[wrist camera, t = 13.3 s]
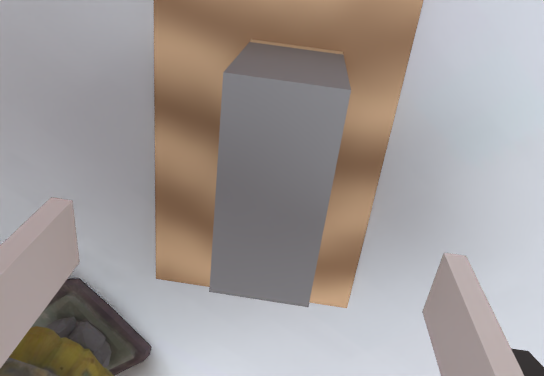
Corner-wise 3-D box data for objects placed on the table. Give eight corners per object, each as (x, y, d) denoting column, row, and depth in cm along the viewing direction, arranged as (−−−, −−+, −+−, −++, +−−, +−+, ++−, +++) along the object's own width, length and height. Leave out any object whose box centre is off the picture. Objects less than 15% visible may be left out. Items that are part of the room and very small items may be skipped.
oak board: (159, -109, 23) (152, -112, 22) (437, -75, 22) (442, -76, 21) (160, 270, 34) (155, 278, 33) (346, 298, 33) (346, 308, 33)
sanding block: (251, 39, 25) (223, 72, 18) (342, 51, 25) (351, 90, 17) (236, 212, 30) (209, 291, 23) (311, 223, 30) (308, 307, 22)
